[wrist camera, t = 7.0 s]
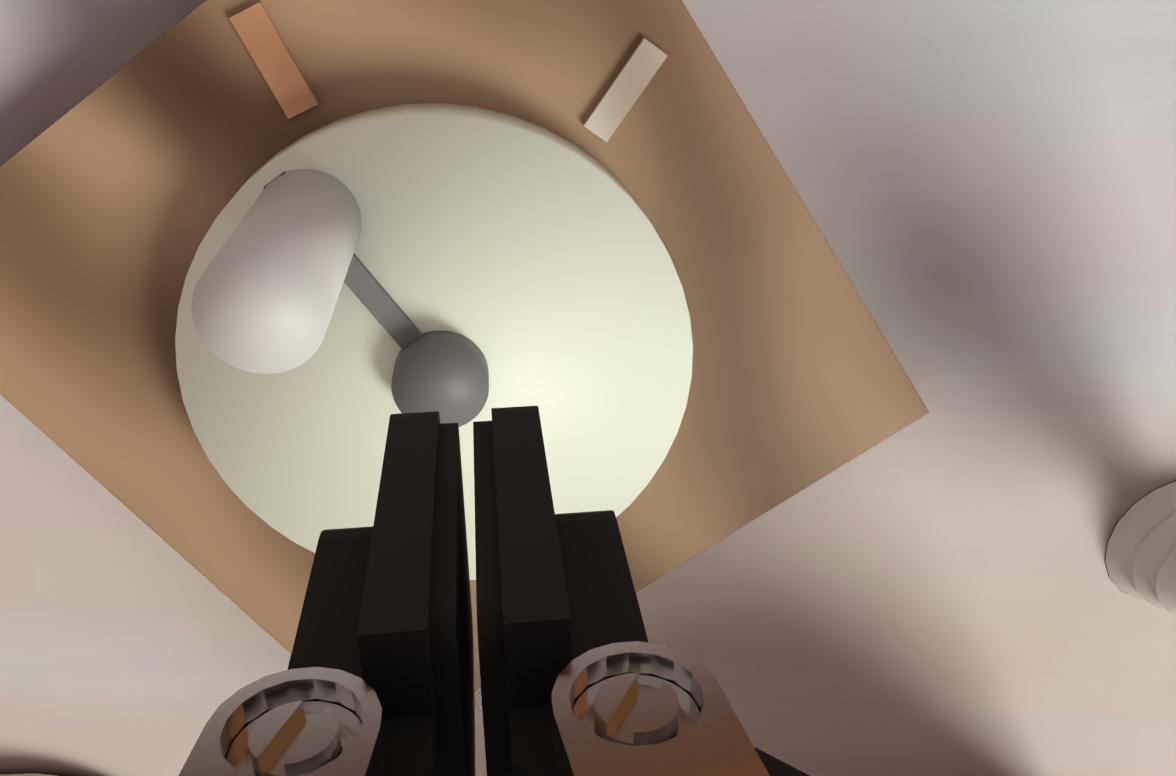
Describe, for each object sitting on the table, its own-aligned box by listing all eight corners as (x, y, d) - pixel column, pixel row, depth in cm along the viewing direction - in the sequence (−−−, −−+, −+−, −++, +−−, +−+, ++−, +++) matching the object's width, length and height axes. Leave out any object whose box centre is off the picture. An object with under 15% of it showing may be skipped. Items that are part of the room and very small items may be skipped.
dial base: (393, 708, 34) (389, 746, 33) (-102, 255, 26) (-138, 277, 25) (909, 389, 31) (931, 415, 29) (522, -250, 23) (526, -260, 21)
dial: (768, 393, 29) (856, 545, 22) (405, 622, 31) (384, 823, 24) (493, -12, 23) (499, 27, 17) (79, 301, 26) (-63, 446, 19)
